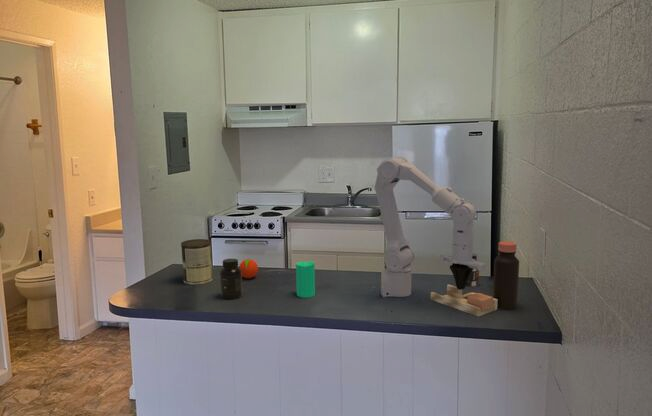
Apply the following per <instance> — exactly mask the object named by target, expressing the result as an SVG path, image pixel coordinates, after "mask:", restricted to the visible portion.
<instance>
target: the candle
mask: <svg viewBox="0 0 652 416" xmlns="http://www.w3.org/2000/svg"><path fill="white" fill-rule="evenodd" d="M315 269H316V268H315V262H314V261H312V260H311V261H310V260H308V261H299V262H297V263H295V276H296V277H295V278H296V279H295V280H296V281H295V284H296V286H295V287H296V296H297V297H299V298H312V297H314V296H315V295H316V288H315V287H316V282H315V281H316V279H315V278H316V277H315V276H316V273H315V271H316V270H315Z"/></svg>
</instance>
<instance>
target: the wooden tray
mask: <svg viewBox="0 0 652 416" xmlns="http://www.w3.org/2000/svg"><path fill="white" fill-rule="evenodd" d="M473 294H476V292H473V291H472V292H467V293H466V294H463V289H462V290H459V289H457V287H456V285H453V284H452V285H451V284H447V285H446V294H444V295H443V294H440V293H437V292H434V291H432V292H430V301H433V302H435V303H439V304H442V305H445V306H448V307H451V308H453V309H456V310H459V311H462V312H464V313H468V314H470V315H473V316H476V317H481V316H484V315H487V314H489V313H491V312H495V311H497V310H498V308H497V301H498V299H494V298H493V306H490V307H487V308H485V309H482V310H481V308H479V307H476V306H473V305H470V304H467V299H466V298H467V296H470V295H473Z"/></svg>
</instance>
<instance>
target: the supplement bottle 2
mask: <svg viewBox="0 0 652 416" xmlns="http://www.w3.org/2000/svg"><path fill="white" fill-rule="evenodd" d="M477 257H478V255H477V254H476V253H474V252H472V259H475V260H477ZM477 261H478V260H477ZM479 279H480V271H478V270H477V269H473V270H472V272H471V273H470V275H469V277H468V280H467V282H466V285H465V287H477V286H479V282H480V280H479Z"/></svg>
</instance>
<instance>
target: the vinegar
mask: <svg viewBox="0 0 652 416" xmlns="http://www.w3.org/2000/svg"><path fill="white" fill-rule="evenodd" d="M497 248H498V249H497V250H498V255H497V256H496V257H495V258H494V260H493V262H494V263H493V284H492V285H493V286H492V287H493V288H492V297H493V298H494V299H498V301H497V309H500V310H504V311H505V310H506V311H510V310H511V311H512V310H515V309H517V308H518V295H519V294H518V293H519V274H520V260H519V258H518V257H517V256H516V253H517V243H516V242H513V241H505V240H504V241H500V242H498V247H497Z"/></svg>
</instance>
